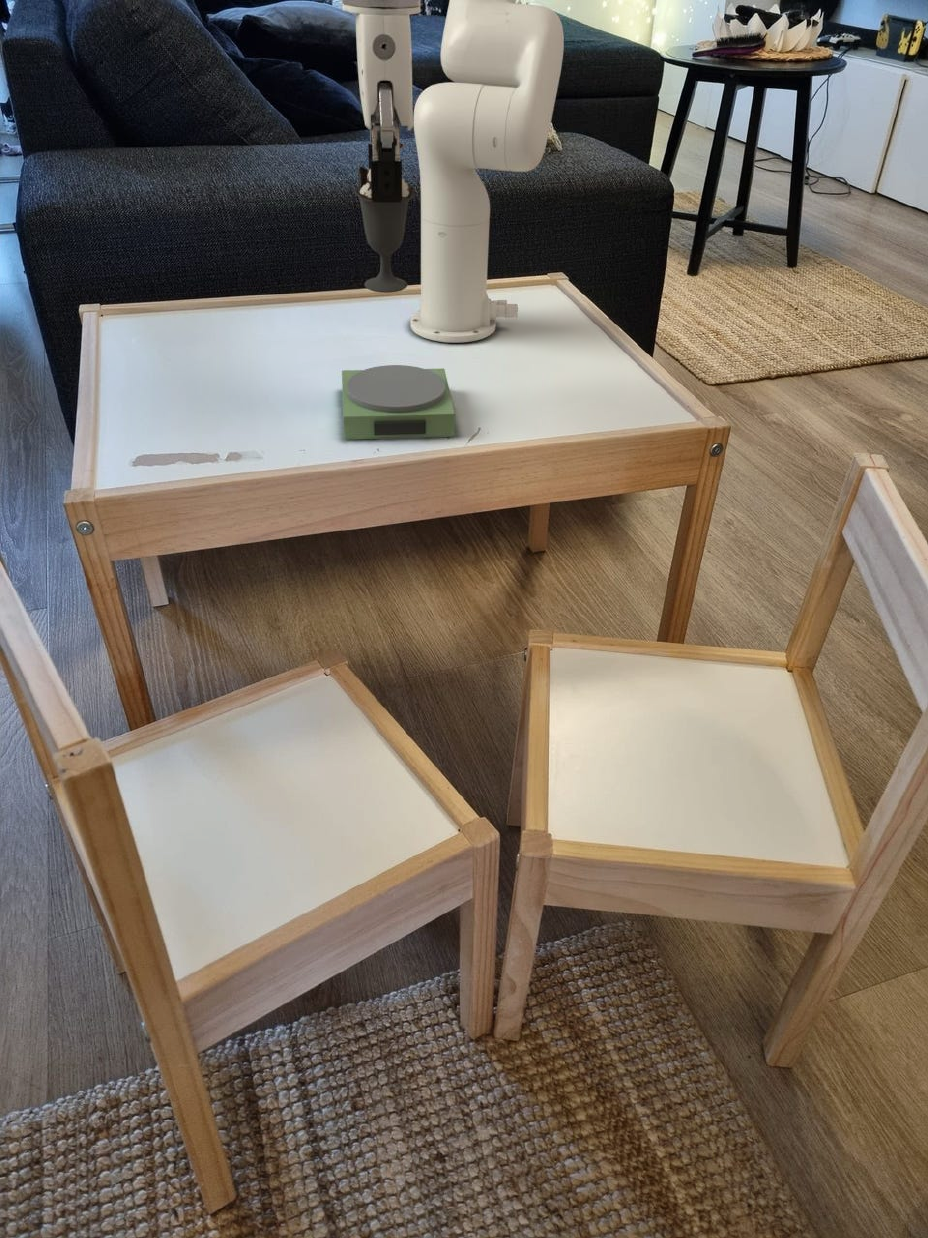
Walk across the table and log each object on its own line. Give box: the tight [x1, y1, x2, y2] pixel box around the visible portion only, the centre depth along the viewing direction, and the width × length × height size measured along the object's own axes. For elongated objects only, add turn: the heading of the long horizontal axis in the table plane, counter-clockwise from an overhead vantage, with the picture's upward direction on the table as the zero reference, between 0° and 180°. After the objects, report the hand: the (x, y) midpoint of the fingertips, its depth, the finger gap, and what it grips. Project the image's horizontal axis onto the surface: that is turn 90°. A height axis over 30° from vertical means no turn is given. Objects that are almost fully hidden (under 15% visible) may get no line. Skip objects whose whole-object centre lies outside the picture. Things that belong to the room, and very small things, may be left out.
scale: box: [341, 364, 456, 441], centre depth 112 cm, size 13×14×4 cm
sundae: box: [352, 142, 415, 294], centre depth 101 cm, size 7×7×15 cm
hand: (385, 190), depth 99 cm, fingers closed on sundae, 6 cm apart
